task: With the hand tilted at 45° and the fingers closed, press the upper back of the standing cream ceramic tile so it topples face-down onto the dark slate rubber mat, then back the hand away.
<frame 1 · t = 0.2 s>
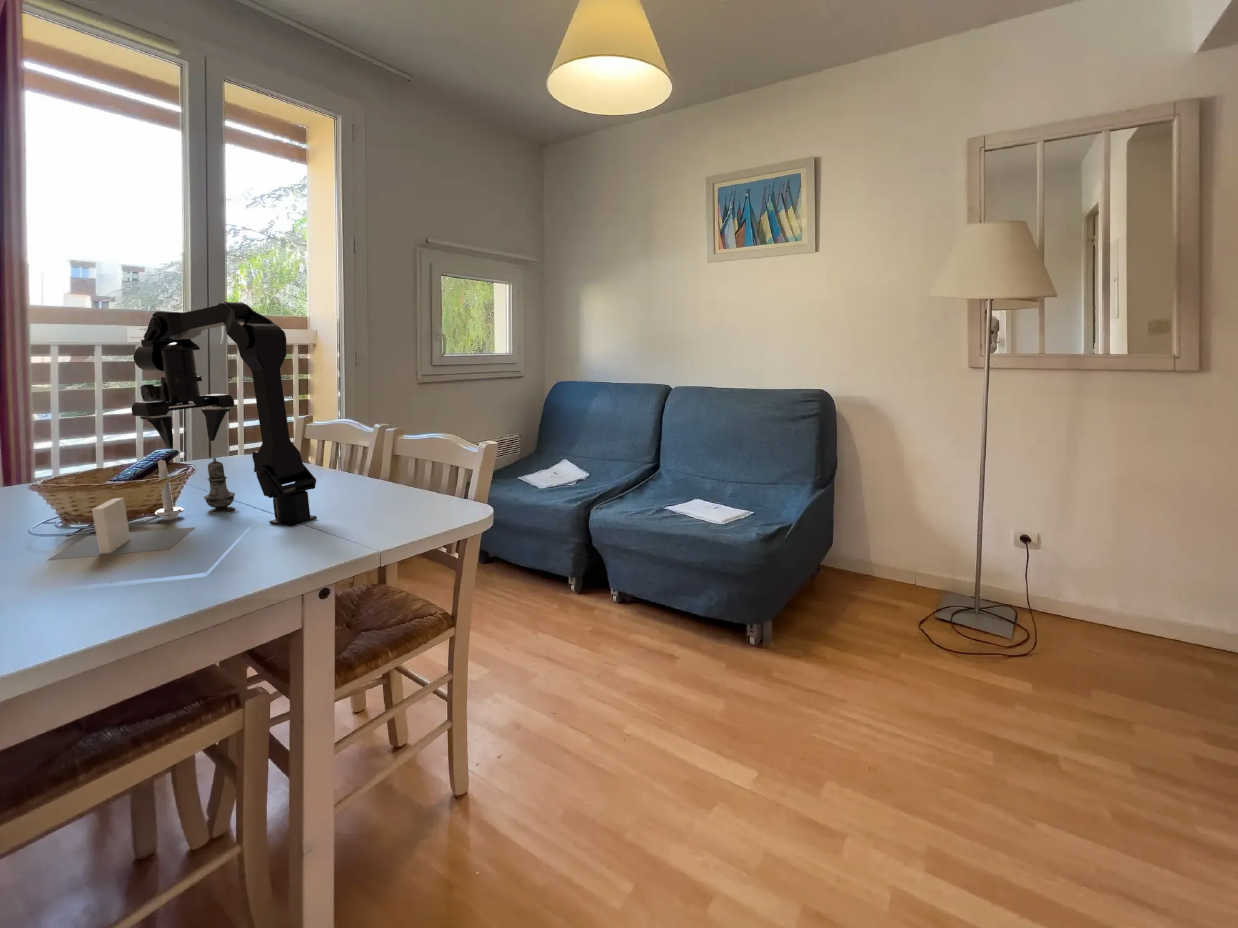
hand: (191, 444, 139), 15 cm above the table, tool pointing down, fingers open, 9 cm apart
mat: (127, 544, 118), on the table
tile: (115, 546, 116), on the table, touching mat
salt shaker: (221, 512, 140), on the table
screw: (170, 521, 133), on the table
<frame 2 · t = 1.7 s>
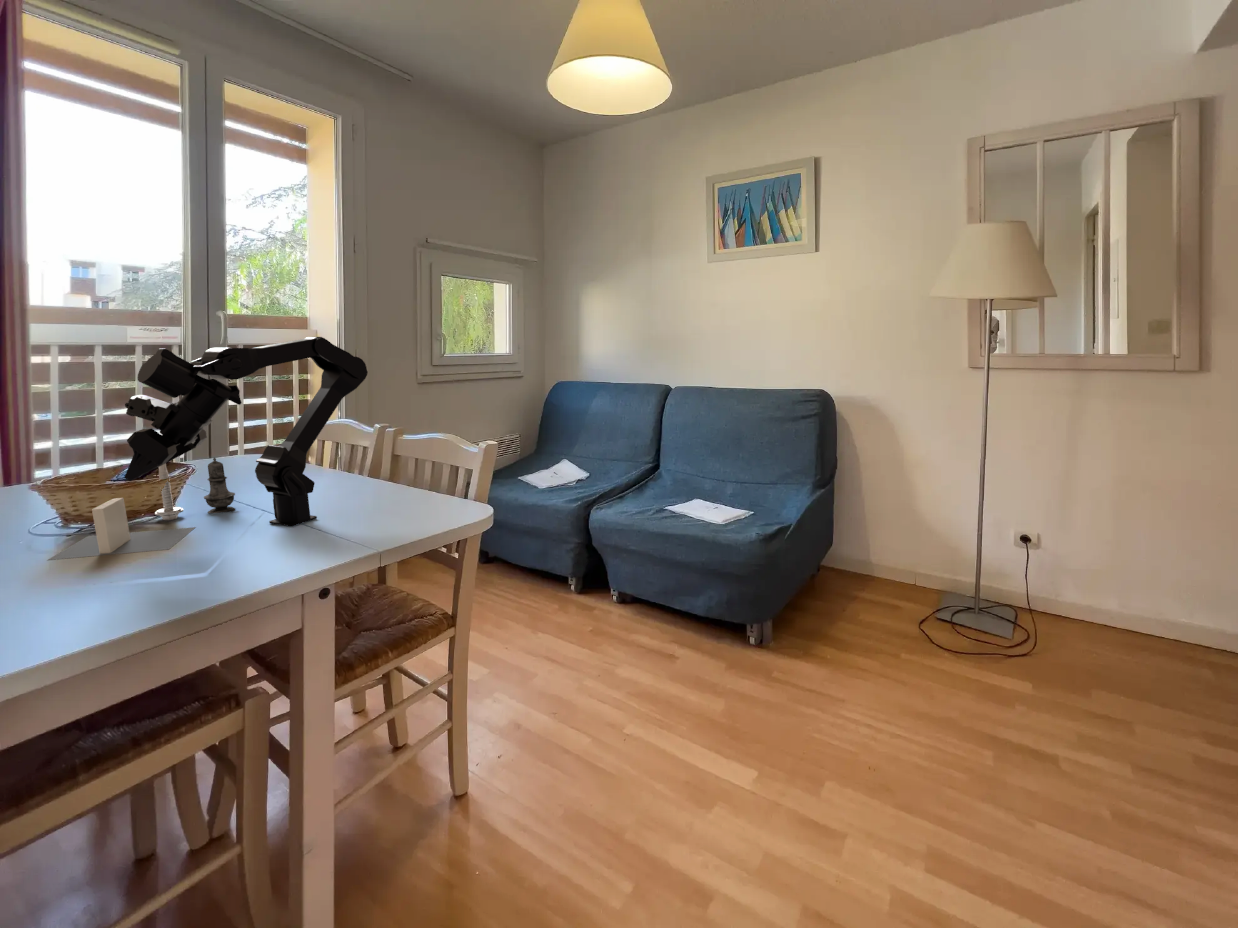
hand: (139, 473, 115), 13 cm above the table, tool tilted 45°, fingers open, 9 cm apart
nothing on the table moved.
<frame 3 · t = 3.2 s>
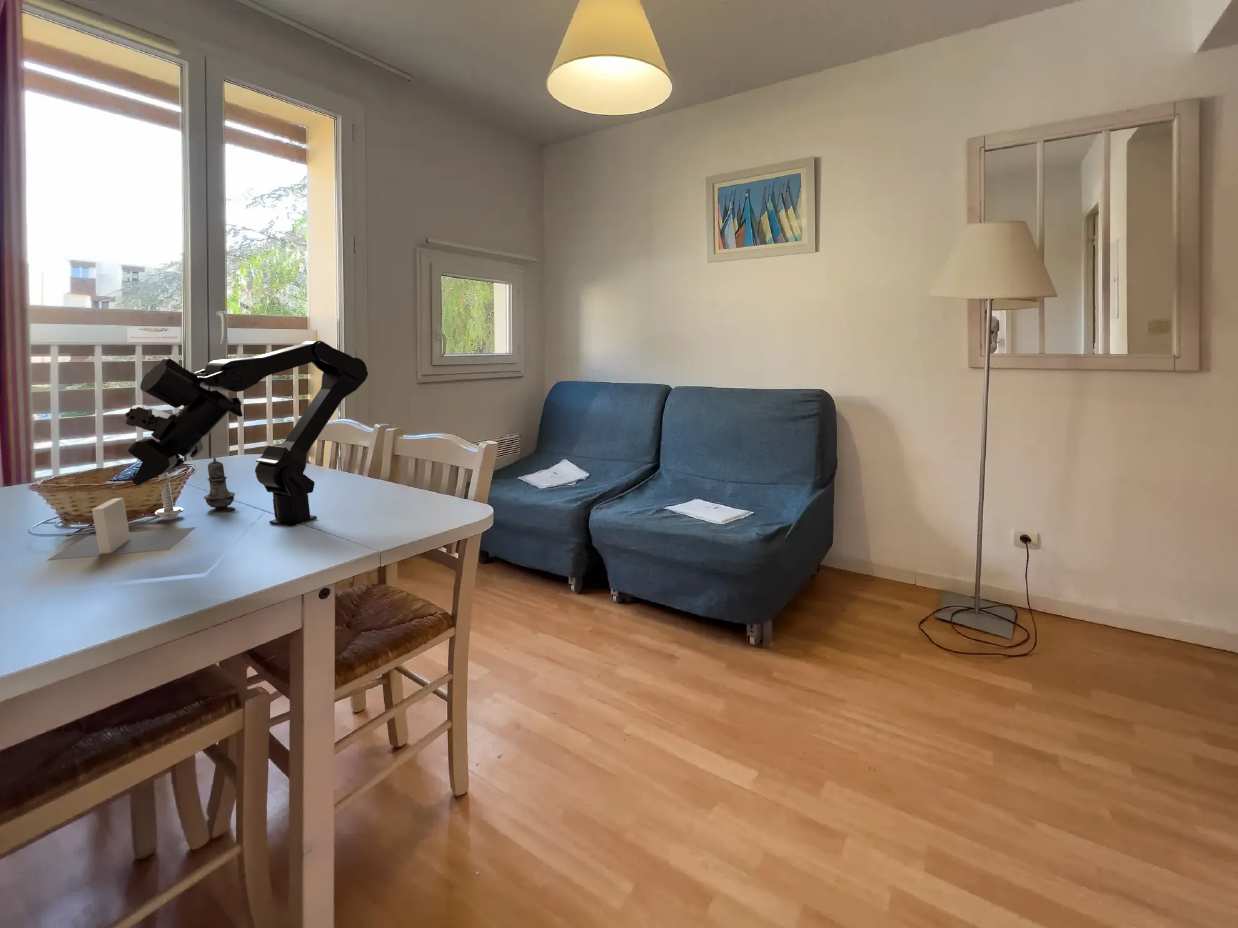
hand: (135, 483, 115), 12 cm above the table, tool tilted 45°, fingers closed
nothing on the table moved.
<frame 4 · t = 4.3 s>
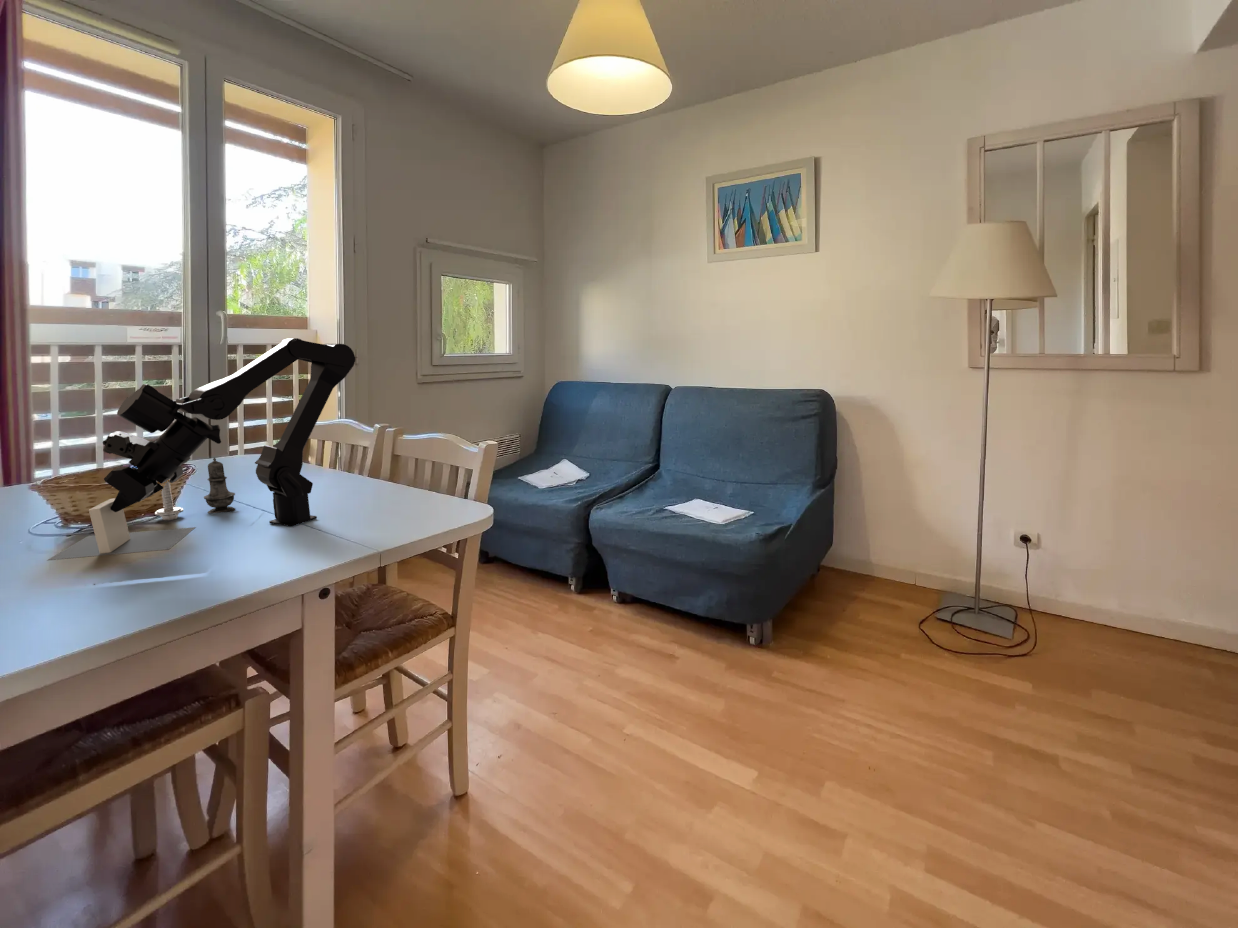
hand: (113, 510, 114), 7 cm above the table, tool tilted 45°, fingers closed, pressing on tile
tile: (115, 546, 116), point 1 cm above the table, touching gripper, mat
everything else where it was.
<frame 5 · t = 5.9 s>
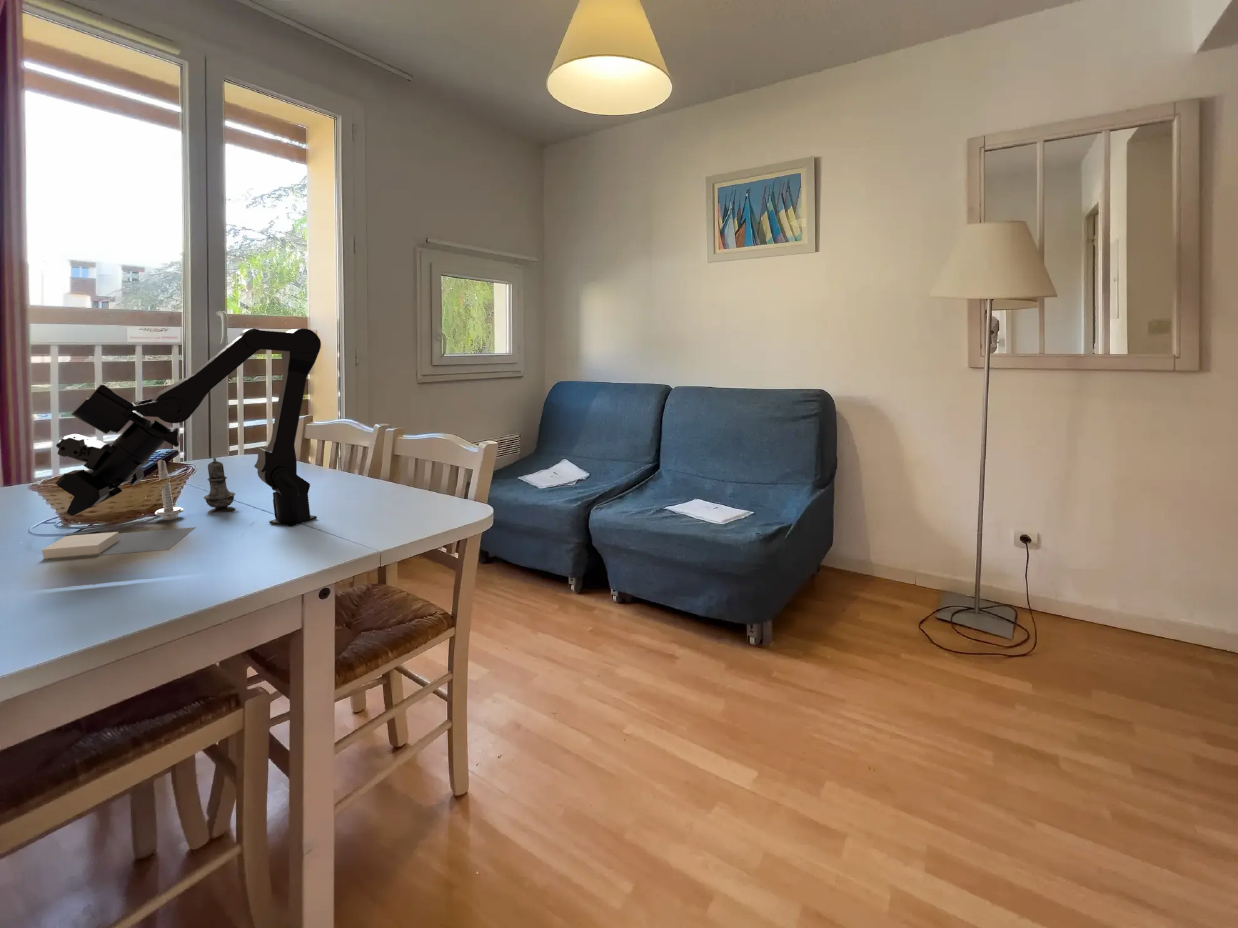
hand: (70, 513, 113), 7 cm above the table, tool tilted 45°, fingers closed
tile: (108, 542, 115), point 1 cm above the table, tilted 90°, touching mat
everything else where it was.
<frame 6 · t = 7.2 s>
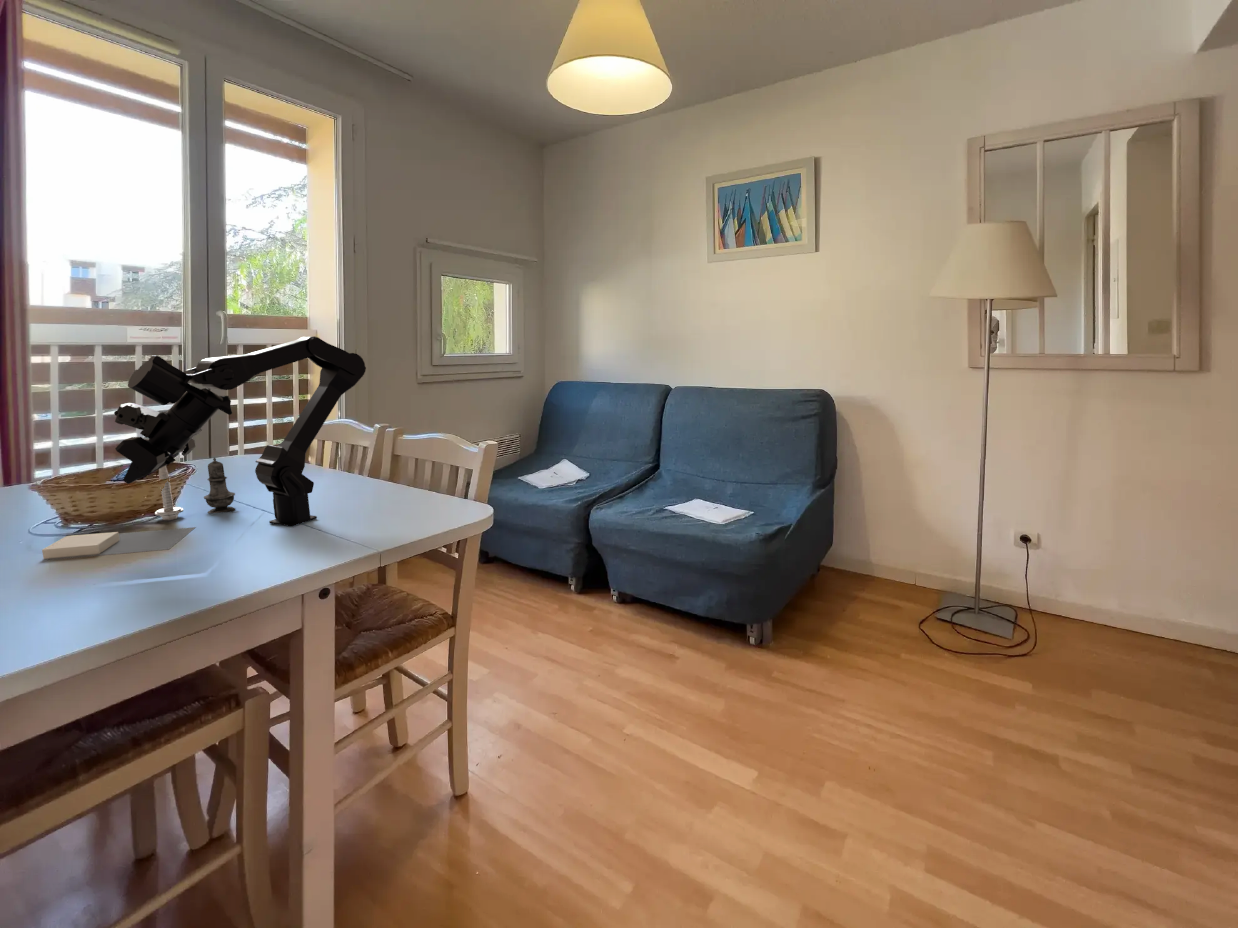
hand: (126, 481, 114), 12 cm above the table, tool tilted 45°, fingers closed
nothing on the table moved.
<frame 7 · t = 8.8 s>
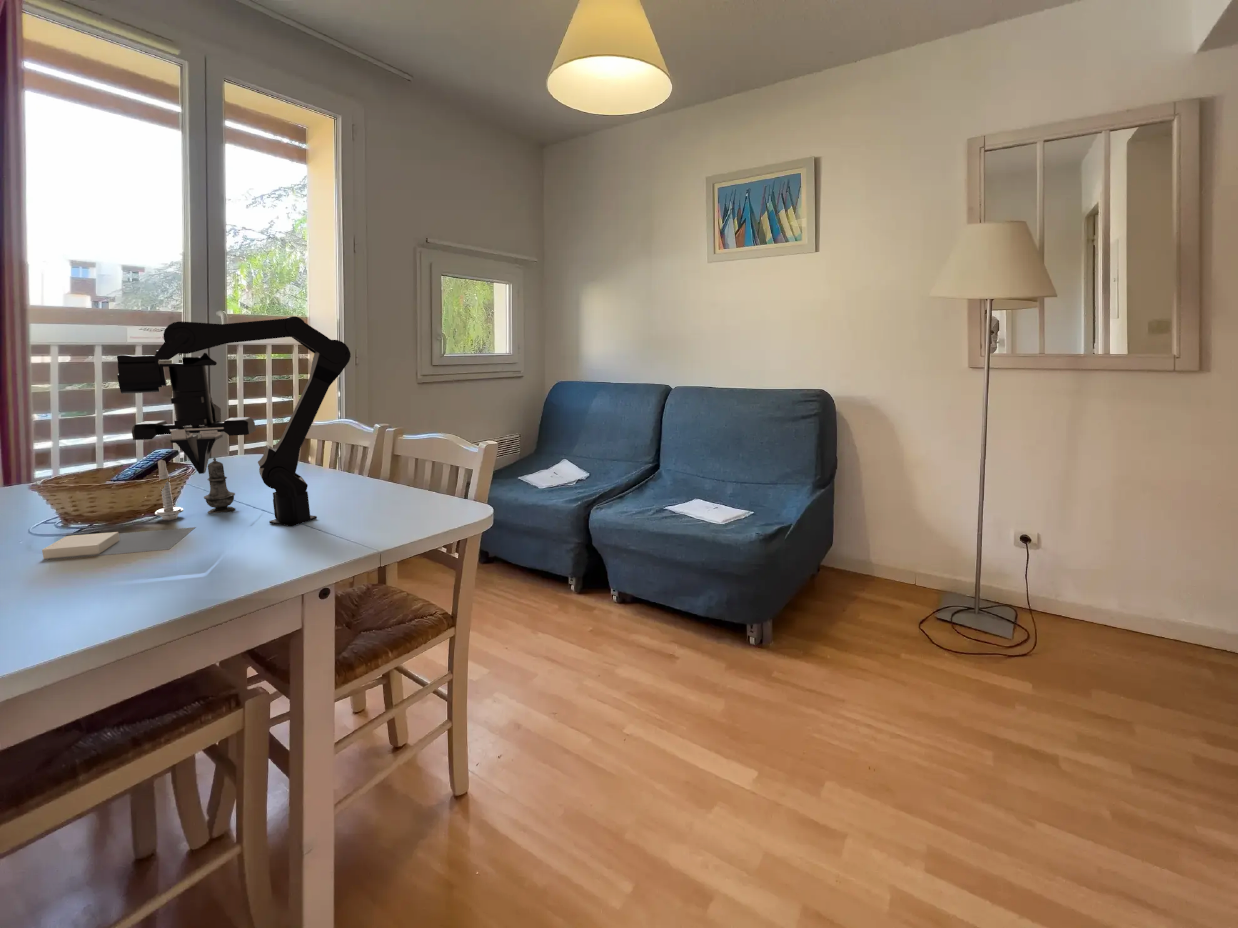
hand: (202, 473, 122), 12 cm above the table, tool pointing down, fingers closed
nothing on the table moved.
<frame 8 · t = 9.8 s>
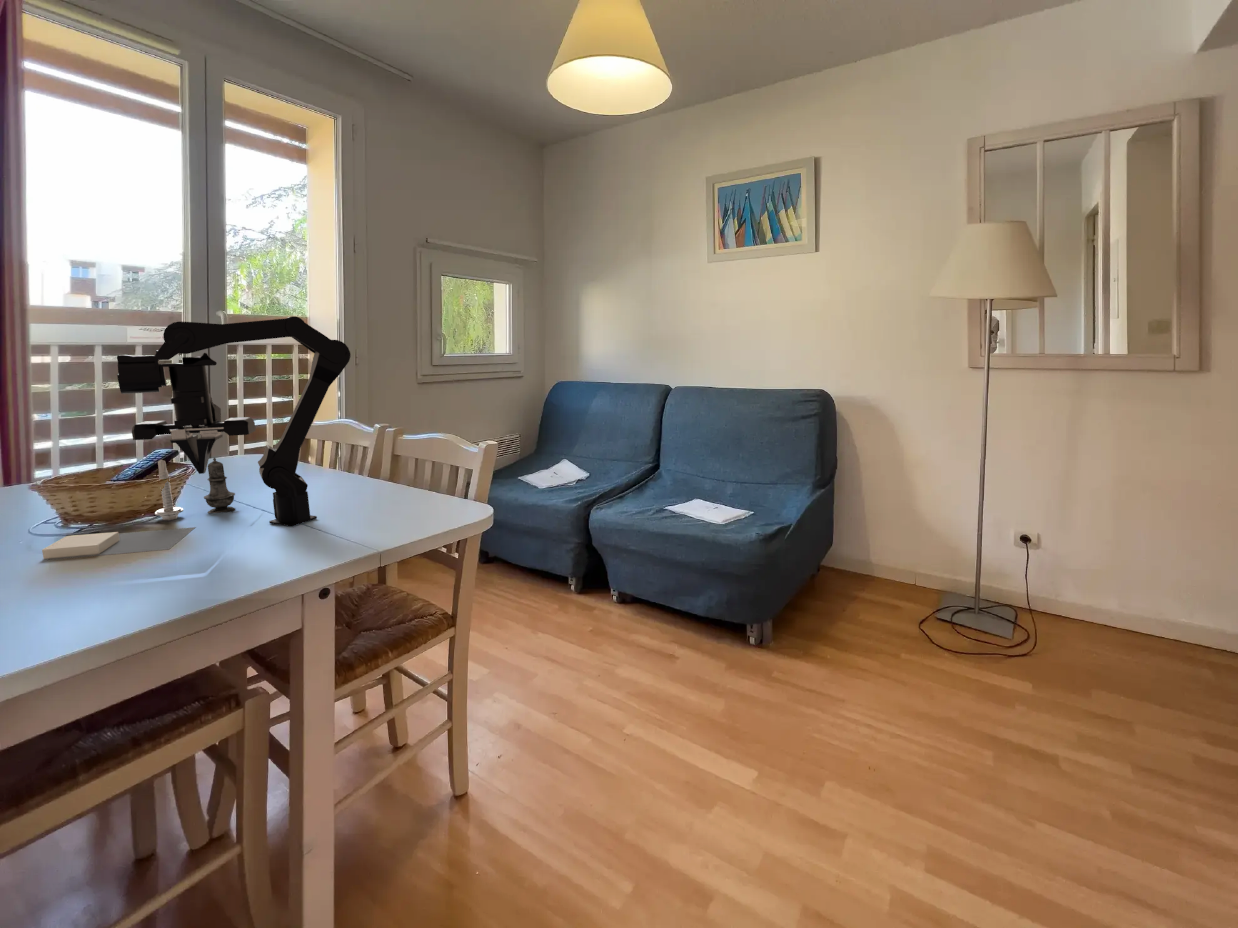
hand: (202, 473, 122), 12 cm above the table, tool pointing down, fingers closed
nothing on the table moved.
at the end: tile tilted 90°; tile inside the target area on the mat (0.4 cm from its centre), point 1.3 cm above the mat's base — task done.
